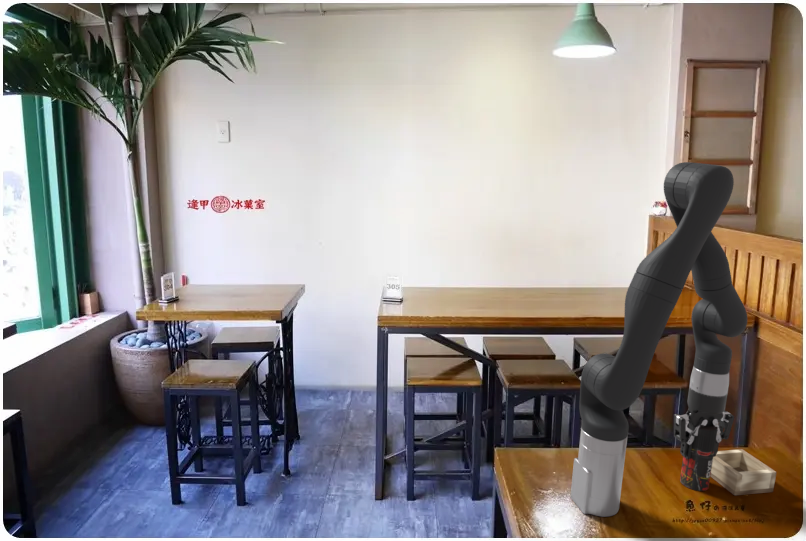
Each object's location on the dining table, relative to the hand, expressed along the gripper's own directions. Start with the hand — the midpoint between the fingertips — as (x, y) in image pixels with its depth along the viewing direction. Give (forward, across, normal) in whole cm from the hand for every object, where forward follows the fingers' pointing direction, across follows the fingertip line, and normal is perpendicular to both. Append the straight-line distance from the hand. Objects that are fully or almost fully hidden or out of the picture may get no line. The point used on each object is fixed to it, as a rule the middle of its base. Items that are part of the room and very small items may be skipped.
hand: (698, 455), depth 127 cm
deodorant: (+7, 0, 0) cm, 7 cm away
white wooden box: (+7, +11, 0) cm, 13 cm away
